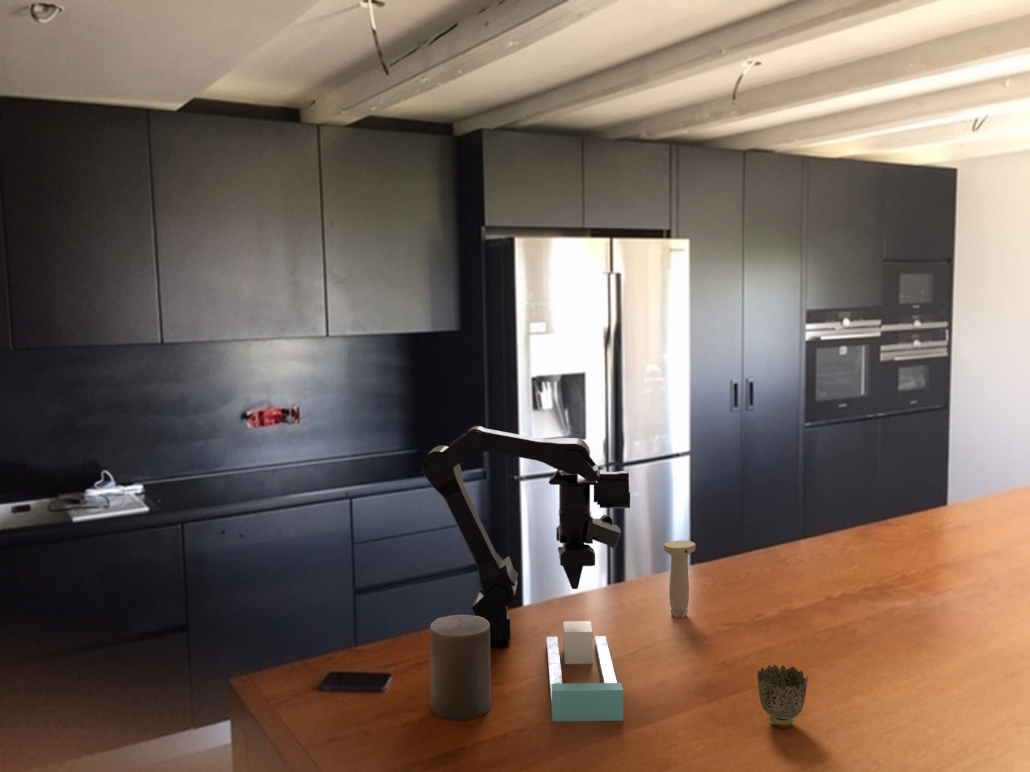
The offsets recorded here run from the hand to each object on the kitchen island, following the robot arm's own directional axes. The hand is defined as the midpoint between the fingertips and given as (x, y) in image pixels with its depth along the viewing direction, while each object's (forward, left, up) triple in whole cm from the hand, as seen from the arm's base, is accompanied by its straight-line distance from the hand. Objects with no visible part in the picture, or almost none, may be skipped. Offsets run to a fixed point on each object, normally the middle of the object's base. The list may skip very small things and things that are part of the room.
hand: (574, 588), depth 167 cm
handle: (+22, +13, -11) cm, 28 cm away
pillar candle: (-20, -25, -11) cm, 33 cm away
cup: (+30, -32, -11) cm, 45 cm away
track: (0, -16, -11) cm, 19 cm away
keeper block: (0, -7, -11) cm, 13 cm away
